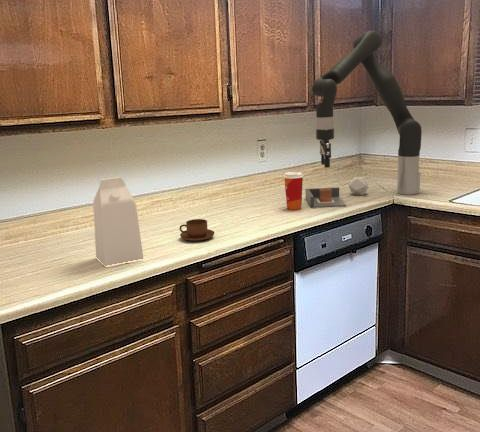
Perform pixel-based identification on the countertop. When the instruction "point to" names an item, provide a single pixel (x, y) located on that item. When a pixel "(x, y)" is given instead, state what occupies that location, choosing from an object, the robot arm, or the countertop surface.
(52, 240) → the countertop surface
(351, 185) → the die
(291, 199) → the coffee cup
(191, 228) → the cup and saucer
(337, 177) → the countertop surface
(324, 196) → the walnut block
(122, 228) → the milk
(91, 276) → the countertop surface
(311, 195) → the board
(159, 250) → the countertop surface
